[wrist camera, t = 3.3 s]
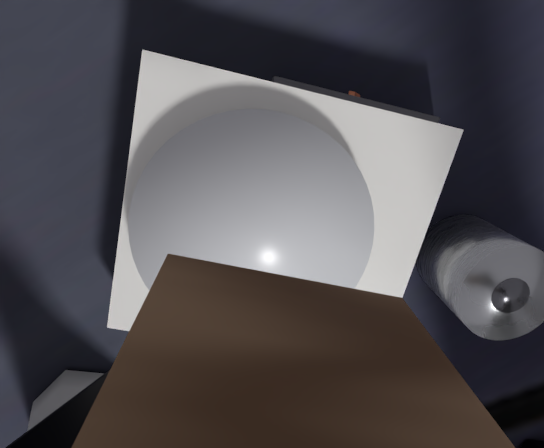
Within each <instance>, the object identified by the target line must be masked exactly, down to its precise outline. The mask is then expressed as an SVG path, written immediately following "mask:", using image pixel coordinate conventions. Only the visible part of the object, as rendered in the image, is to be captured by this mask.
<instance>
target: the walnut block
mask: <svg viewBox="0 0 544 448" xmlns="http://www.w3.org/2000/svg"><path fill="white" fill-rule="evenodd" d="M72 448H515V447H514V445H513V444H512V443H511V441H510V440H509V439H508V437H507V436H506V435H505V433H504V432H503V431H502V429H501V428H500V427H499V425H498V424H497V423H496V421H495V420H494V419H493V417H492V416H491V415H490V414H489V412H488V411H487V410H486V408H485V407H484V406H483V404H482V403H481V402H480V400H479V399H478V398H477V396H476V395H475V394H474V392H473V391H472V390H471V388H470V387H469V386H468V384H467V383H466V382H465V380H464V379H463V378H462V376H461V375H460V374H459V372H458V371H457V370H456V369H455V367H454V366H453V365H452V363H451V362H450V361H449V359H448V358H447V357H446V355H445V354H444V353H443V351H442V350H441V349H440V347H439V346H438V345H437V343H436V342H435V341H434V339H433V338H432V337H431V335H430V334H429V333H428V331H427V330H426V329H425V327H424V326H423V325H422V324H421V322H420V321H419V320H418V318H417V317H416V316H415V314H414V313H413V312H412V310H411V309H410V308H409V306H408V305H407V304H406V302H405V301H404V300H403V298H401V297H395V296H390V295H385V294H380V293H374V292H369V291H364V290H358V289H353V288H348V287H343V286H337V285H332V284H327V283H321V282H316V281H311V280H306V279H300V278H295V277H290V276H284V275H279V274H274V273H268V272H263V271H258V270H253V269H247V268H242V267H237V266H231V265H226V264H221V263H216V262H210V261H205V260H200V259H194V258H189V257H184V256H179V255H173V254H167V256H166V258H165V260H164V262H163V264H162V266H161V268H160V270H159V272H158V275H157V277H156V279H155V281H154V283H153V285H152V287H151V289H150V291H149V293H148V295H147V297H146V299H145V301H144V303H143V305H142V307H141V309H140V311H139V313H138V315H137V317H136V319H135V321H134V323H133V325H132V327H131V329H130V331H129V333H128V335H127V337H126V339H125V341H124V343H123V345H122V347H121V349H120V351H119V353H118V355H117V357H116V359H115V361H114V363H113V365H112V367H111V369H110V371H109V373H108V375H107V377H106V379H105V381H104V383H103V385H102V387H101V389H100V391H99V393H98V395H97V397H96V399H95V401H94V403H93V405H92V407H91V409H90V411H89V413H88V415H87V417H86V419H85V422H84V424H83V426H82V428H81V430H80V432H79V434H78V436H77V438H76V440H75V442H74V444H73V446H72Z"/></svg>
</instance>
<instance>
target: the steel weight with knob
mask: <svg viewBox="0 0 544 448" xmlns="http://www.w3.org/2000/svg"><path fill="white" fill-rule="evenodd" d="M416 265H417V270H418V272H419V275H420V276H421V278H422V279H423V281H424V282H425V283H426V284H427V285H428V286H429V287H430V288H431V289H432V290H433V291H434V292H435V293H436V295H437V296H438V297H439V298H440V299H441V300H442V301H443V302H444V303H445V304H446V305H447V306H448V307H449V308H450V309H451V311H452V312H453V313H454V314H455V315H456V316H457V317H458V318H459V319H460V320H461V321H462V322H463V323H464V324H465V326H466V327H467V328H468V329H469V330H470V331H472V332H473V333H474V334H476V335H478V336H480V337H482V338H485V339H489V340H509V339H513V338H517V337H520V336H523V335H525V334H527V333H529V332H530V331H532V330H534V329H535V328H537V327H538V326H539V325H540V324H542V323H543V322H544V252H543V251H541V250H539V249H537V248H536V247H534V246H532V245H530V244H528V243H526V242H524V241H522V240H521V239H519V238H517V237H515V236H513V235H511V234H509V233H508V232H506V231H504V230H502V229H500V228H498V227H496V226H495V225H493V224H491V223H489V222H487V221H485V220H483V219H481V218H479V217H477V216H473V215H463V214H462V215H455V216H451V217H448V218H445V219H443V220H441V221H440V222H438V223H437V224H435V225H434V226H433V227H431V228H430V229H429V230H428V232H427V233H426V235H425V237H424V240H423V243H422V245H421V248H420V251H419V254H418V256H417V259H416Z"/></svg>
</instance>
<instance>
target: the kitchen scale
mask: <svg viewBox="0 0 544 448" xmlns="http://www.w3.org/2000/svg"><path fill="white" fill-rule="evenodd" d="M360 96H361V95H359V94H358V93H356V92H354V91H349V94H345V93H341V92H337V91H333V90H329V89H325V88H321V87H317V86H313V85H309V84H305V83H301V82H297V81H293V80H289V79H285V78H281V77H277V76H274V77H272V81H267V80H263V79H259V78H255V77H251V76H247V75H243V74H239V73H235V72H231V71H227V70H223V69H219V68H215V67H211V66H207V65H203V64H198V63H194V62H190V61H186V60H182V59H178V58H174V57H170V56H166V55H162V54H158V53H154V52H150V51H146V50H142V56H141V64H140V72H139V80H138V88H137V96H136V103H135V111H134V119H133V127H132V135H131V143H130V151H129V159H128V167H127V174H126V182H125V190H124V198H123V206H122V214H121V222H120V230H119V237H118V245H117V253H116V261H115V269H114V277H113V285H112V293H111V301H110V308H109V316H108V324H107V328H113V329H119V330H125V331H130V329H131V327H132V325H133V323H134V321H135V319H136V317H137V315H138V313H139V311H140V309H141V307H142V305H143V303H144V301H145V299H146V297H147V295H148V293H149V291H150V289H151V287H152V285H153V283H154V281H155V279H156V277H157V275H158V272H159V270H160V268H161V266H162V264H163V262H164V260H165V258H166V256H167V254H173V255H179V256H184V257H189V258H194V259H200V260H205V261H210V262H216V263H221V264H226V265H231V266H237V267H242V268H247V269H253V270H258V271H263V272H268V273H274V274H279V275H284V276H290V277H295V278H300V279H306V280H311V281H316V282H321V283H327V284H332V285H337V286H343V287H348V288H353V289H358V290H364V291H369V292H374V293H380V294H385V295H390V296H395V297H401V298H402V297H403V295H404V292H405V289H406V287H407V284H408V281H409V278H410V276H411V273H412V270H413V267H414V265H415V262H416V259H417V256H418V254H419V251H420V248H421V245H422V243H423V240H424V237H425V235H426V232H427V229H428V226H429V224H430V221H431V218H432V215H433V213H434V210H435V207H436V204H437V202H438V199H439V196H440V194H441V191H442V188H443V185H444V183H445V180H446V177H447V174H448V172H449V169H450V166H451V163H452V161H453V158H454V155H455V152H456V150H457V147H458V144H459V142H460V139H461V136H462V133H463V131H464V130H463V129H459V128H455V127H451V126H447V125H443V124H439V123H438V122H439V119H440V117H436V116H432V115H428V114H424V113H420V112H416V111H412V110H408V109H404V108H400V107H396V106H392V105H388V104H384V103H380V102H376V101H372V100H369V99H365V98H361V97H360Z"/></svg>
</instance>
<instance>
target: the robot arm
mask: <svg viewBox="0 0 544 448" xmlns="http://www.w3.org/2000/svg"><path fill="white" fill-rule="evenodd" d="M109 371H110V370H109ZM109 371H107V372H106V373H105V374H103V375H102V376H101V377H99V378H98V379H97V380H95V381H94V382H93V383H91V384H90V385H89V386H87V387H86V388H85V389H83V390H82V391H81V392H79V393H78V394H77V395H75V396H74V397H73V398H71V399H70V400H69V401H67V402H66V403H64V404H63V405H62V406H60V407H59V408H58V409H56V410H55V411H54V412H52V413H51V414H50V415H48V416H47V417H46V418H44V419H43V420H42V421H40V422H39V423H38V424H36V425H35V426H34V427H32V428H31V429H30V430H28V431H27V432H26V433H24V434H23V435H22V436H20V437H19V438H18V439H16V440H15V441H14V442H12V443H11V444H10V445H8V446H7V447H6V448H72V446H73V444H74V442H75V440H76V438H77V436H78V434H79V432H80V430H81V428H82V426H83V424H84V422H85V419H86V417H87V415H88V413H89V411H90V409H91V407H92V405H93V403H94V401H95V399H96V397H97V395H98V393H99V391H100V389H101V387H102V385H103V383H104V381H105V379H106V377H107V375H108V373H109ZM521 448H544V442H541V441H534V440H529V441H526V442H525V443H524V444H523V445H522V447H521Z"/></svg>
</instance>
